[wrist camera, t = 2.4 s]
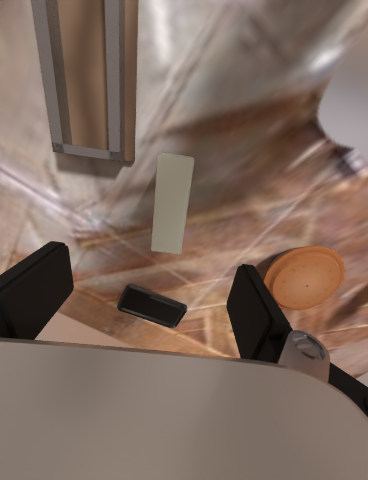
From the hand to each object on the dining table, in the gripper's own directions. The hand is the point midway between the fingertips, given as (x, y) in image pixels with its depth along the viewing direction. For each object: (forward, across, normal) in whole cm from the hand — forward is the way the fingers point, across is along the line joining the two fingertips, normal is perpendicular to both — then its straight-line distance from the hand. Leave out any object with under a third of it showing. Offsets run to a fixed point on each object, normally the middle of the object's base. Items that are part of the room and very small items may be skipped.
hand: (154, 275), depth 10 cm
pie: (+25, -27, +13) cm, 39 cm away
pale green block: (+24, 0, 0) cm, 24 cm away
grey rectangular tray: (+24, +13, -16) cm, 32 cm away
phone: (+25, +2, +27) cm, 37 cm away
